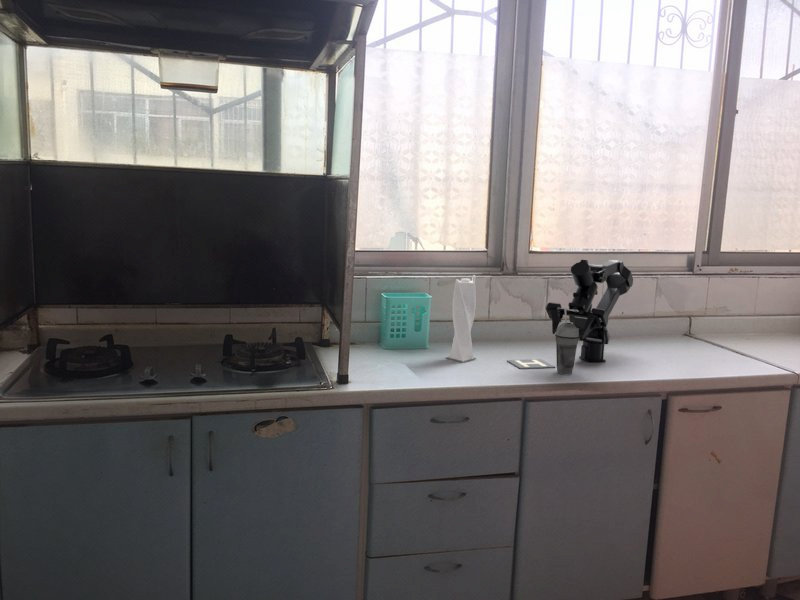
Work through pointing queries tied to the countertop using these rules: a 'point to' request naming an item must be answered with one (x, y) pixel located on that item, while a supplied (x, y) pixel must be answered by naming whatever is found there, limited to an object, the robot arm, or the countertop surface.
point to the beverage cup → (566, 346)
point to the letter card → (530, 363)
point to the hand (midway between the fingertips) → (567, 335)
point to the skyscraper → (463, 319)
